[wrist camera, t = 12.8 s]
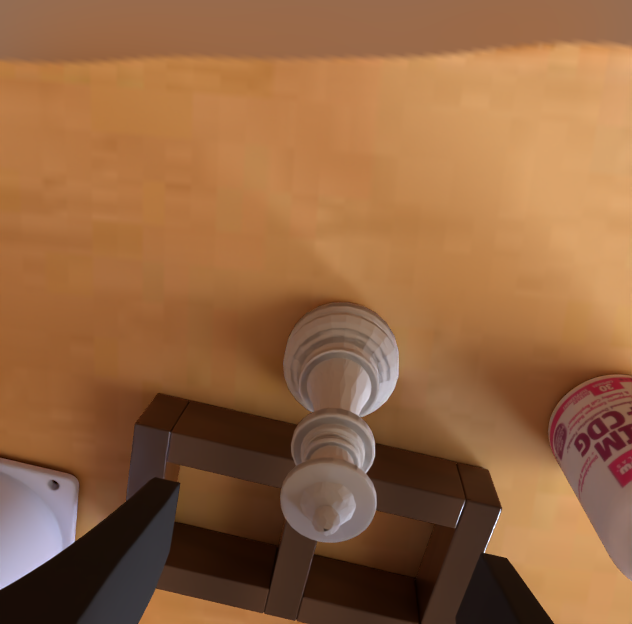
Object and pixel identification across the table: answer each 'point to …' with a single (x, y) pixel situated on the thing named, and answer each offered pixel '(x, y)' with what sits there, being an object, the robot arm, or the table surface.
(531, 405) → the table surface
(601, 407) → the pill bottle
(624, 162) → the table surface
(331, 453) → the chess piece
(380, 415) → the table surface
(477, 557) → the stand
